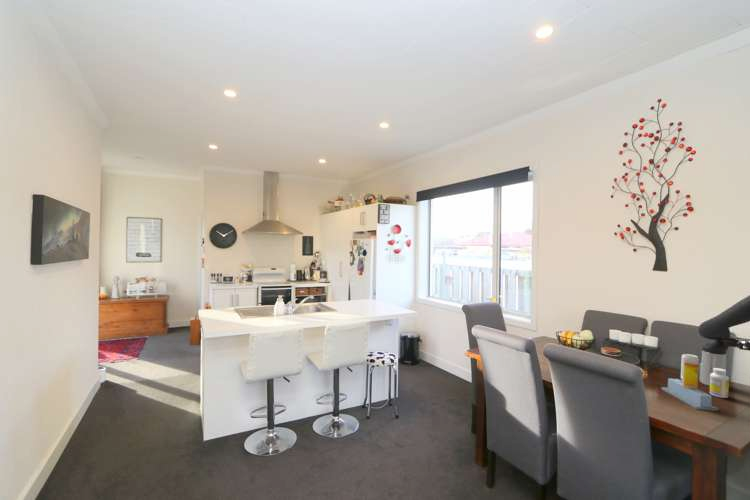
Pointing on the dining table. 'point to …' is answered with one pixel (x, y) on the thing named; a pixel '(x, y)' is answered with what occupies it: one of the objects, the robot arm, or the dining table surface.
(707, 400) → the rail
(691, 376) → the beer can
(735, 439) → the dining table surface
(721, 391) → the supplement bottle
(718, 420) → the dining table surface
